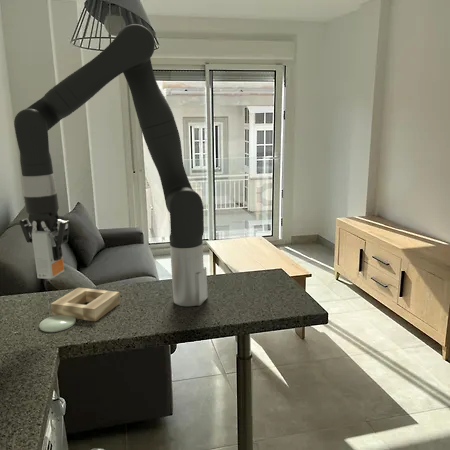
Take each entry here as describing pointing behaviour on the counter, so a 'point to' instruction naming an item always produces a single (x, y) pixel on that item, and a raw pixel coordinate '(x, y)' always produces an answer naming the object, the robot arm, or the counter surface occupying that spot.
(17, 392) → the counter surface
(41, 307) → the counter surface
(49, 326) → the coaster
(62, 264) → the skincare box
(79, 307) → the pocket block
